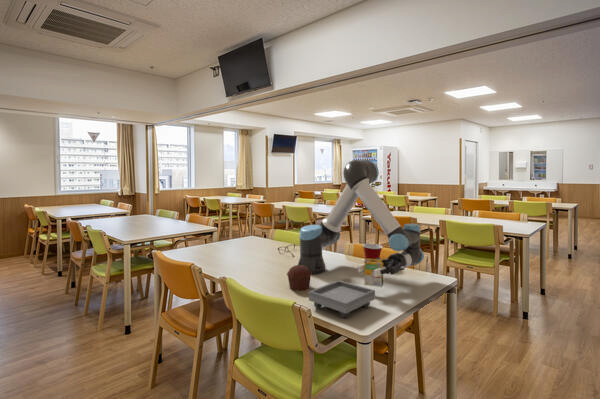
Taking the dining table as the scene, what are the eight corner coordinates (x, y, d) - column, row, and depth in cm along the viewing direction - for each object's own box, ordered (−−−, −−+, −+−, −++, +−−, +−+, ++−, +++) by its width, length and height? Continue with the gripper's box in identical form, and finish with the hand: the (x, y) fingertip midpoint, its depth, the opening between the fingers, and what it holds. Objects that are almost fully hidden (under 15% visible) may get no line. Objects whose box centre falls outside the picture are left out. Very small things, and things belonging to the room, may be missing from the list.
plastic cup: (383, 270, 180) (383, 247, 179) (362, 269, 182) (362, 247, 181) (382, 264, 190) (382, 243, 189) (362, 263, 192) (362, 242, 191)
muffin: (315, 290, 152) (315, 268, 151) (291, 293, 148) (290, 271, 148) (307, 282, 163) (306, 261, 162) (284, 284, 160) (284, 263, 159)
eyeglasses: (295, 249, 232) (295, 243, 232) (311, 253, 221) (311, 247, 220) (276, 253, 221) (276, 247, 221) (292, 258, 209) (292, 251, 209)
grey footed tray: (309, 307, 133) (308, 291, 132) (338, 295, 145) (338, 280, 145) (346, 321, 120) (346, 303, 119) (375, 306, 132) (375, 290, 132)
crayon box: (383, 285, 144) (383, 258, 143) (381, 287, 142) (382, 260, 141) (366, 282, 147) (366, 256, 146) (364, 285, 145) (364, 258, 143)
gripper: (419, 274, 148) (387, 286, 133) (380, 264, 163) (347, 274, 149) (419, 257, 147) (387, 267, 133) (380, 248, 163) (347, 257, 148)
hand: (366, 271), depth 141 cm, fingers closed on crayon box, 8 cm apart
